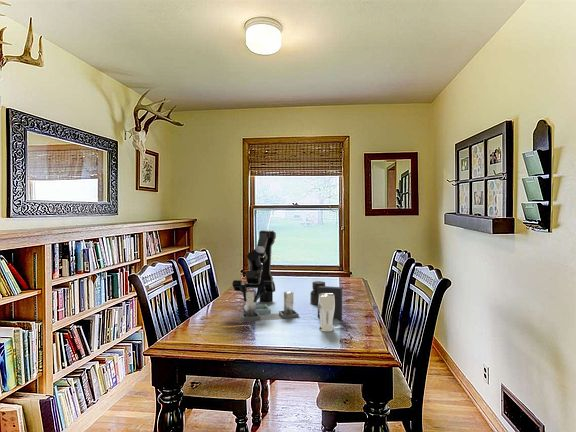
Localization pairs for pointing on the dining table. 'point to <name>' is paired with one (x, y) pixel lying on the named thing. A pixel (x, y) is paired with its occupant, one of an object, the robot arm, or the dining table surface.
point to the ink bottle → (315, 292)
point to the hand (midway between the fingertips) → (249, 301)
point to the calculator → (338, 299)
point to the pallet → (268, 316)
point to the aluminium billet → (250, 303)
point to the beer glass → (326, 311)
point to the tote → (261, 310)
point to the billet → (288, 302)
